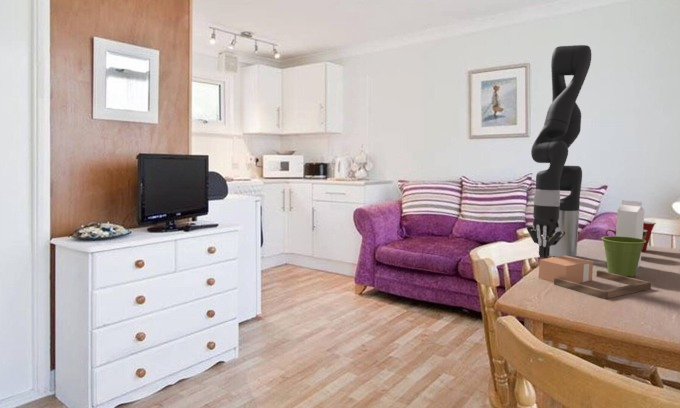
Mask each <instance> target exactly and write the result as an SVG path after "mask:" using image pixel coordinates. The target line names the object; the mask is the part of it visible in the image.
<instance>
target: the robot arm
mask: <svg viewBox="0 0 680 408" xmlns="http://www.w3.org/2000/svg"><path fill="white" fill-rule="evenodd" d="M591 62H592V49H591V47H590V46H589V45H585V44H584V45H583V44H579V45H578V44H577V45H575V44H574V45H559V46H557V47H555V48H554V50H553V51H552V56H551V63H550V65H551V66H550V67H551V87H552V88H551V90H552V92H551V93H552V97H551V98H552V99H551V100H552V101H551V103H550V105H549V107H548V110H547V112H546V116H545V120H544V124H543V127H542V128H541V130H540V131H539V134H538V136H537V137H536V139H535V141H534V142H533V145H532V146H531V147H532V148H531V150H530V151H531V158H532V160H533V161H534V162H536V163H539V164H549V167H547V168H548V169H544V170H541V171H538V172H536V176H535V190H534V197H533V198H534V199H533V211H532V212H533V213H532V215H533V219H534V220H533V222H532V225H530V226H527V227H526V230H527V232H528V234H529V236H530V238H531V240H532V241H533V243H534V244H537V245H538V256H539V259H540V258H541V259H546V258H549V257H550V256H551V257H560V256H570V257H575V258H578V257H577V252H578V241H579V240H578V239H579V238H578V236H579V219H580V203H581V201H580V199H581V189H582V182H583V170H582V169H583V168H582V167H581V166H579V165H566V162H567V159H568V157H569V148H570V147H571V145H573V143H575V141H576V139H577V138H578V136H579V135H580V132H581V129H582V128H581V126H582V112H581V109H580V107H579V106H578V103H577V102H576V101H577V100H578V97H579V95H580V92H581V90H582V88H583V85H584V83H585V80H586V78H587V75H588V72H589V71H590V70H589V69H590V67H591ZM566 76H573V77H572V78H571V80H570V82H569V84H566V78H565V77H566ZM562 191H563V192H570V193H569V195H567V196H565V197H563V198H561V192H562Z"/></svg>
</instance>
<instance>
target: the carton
mask: <svg viewBox="0 0 680 408" xmlns="http://www.w3.org/2000/svg"><path fill="white" fill-rule="evenodd" d="M538 261H539V265H538V266H539V267H538V279H541V280H544V281H547V282H551V283H554V278H560V279H564V280H568V281H571V282H575V283H579V284H582V283H585V282H586V283H587V282H591V281H593V273H594V272H593V271H594V270H593V269H594V267H593V266H594V261H592V260H589V259H584V258H578V257H570V256H560V257H554V256H552V257H548V258H541V259H540V258H539V260H538Z"/></svg>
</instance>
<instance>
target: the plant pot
mask: <svg viewBox="0 0 680 408" xmlns="http://www.w3.org/2000/svg"><path fill="white" fill-rule="evenodd" d="M601 240H602V241H603V247H604V250H605V257H606V265H607V272H609V273H613V274H617V275H622V276H626V277H630V278H634V277H635V276H636V275H637V269H638V267H637V266H638V262H639V258H640V254H641V255H642V251H641V250H642V249H643V246H644V243H646V240H643V239H638V238H632V237H619V236H615V235H614V236H610V235H608V236H606V235H605V236H602V237H601Z"/></svg>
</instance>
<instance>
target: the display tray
mask: <svg viewBox="0 0 680 408" xmlns="http://www.w3.org/2000/svg"><path fill="white" fill-rule="evenodd" d="M596 277H598V278H601V279H606V280H611V281H613V282H616V283H617V282H618V283H621V284H625V285H624V286H619V287H613V288H608V289H605V290H603V289H600V288H596V287H594V286H589V285H586V284H582V283H575V282H571V281H568V280H564V279H560V278H554V282H553V285H556V286H559V287H563V288H566V289H569V290H573V291H575V292H580V293H583V294H586V295H589V296H593V297H596V298H600V299H603V300H606V299H611V298H616V297H620V296H624V295H630V294H633V293H638V292H643V291H647V290H652V282H650V281H646V280H642V279H638V278H634V277H630V276H627V277H626V276H622V275H617V274H613V273H609V272H608V271H604V270H600V269H598V270H596Z"/></svg>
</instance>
